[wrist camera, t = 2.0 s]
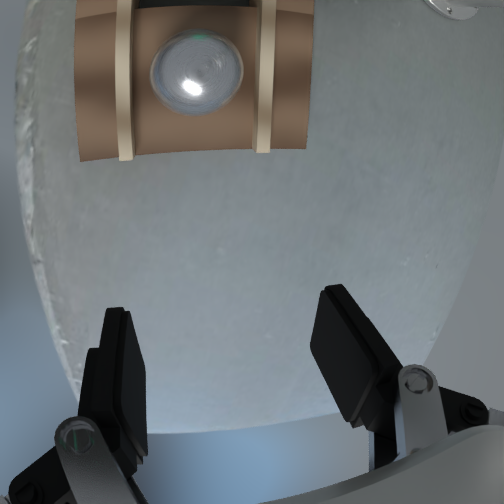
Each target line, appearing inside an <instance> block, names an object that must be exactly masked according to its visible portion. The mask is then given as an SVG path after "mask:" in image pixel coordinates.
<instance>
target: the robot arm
mask: <svg viewBox="0 0 504 504" xmlns="http://www.w3.org/2000/svg"><path fill="white" fill-rule="evenodd" d="M424 1H425V2H426V3H427V4H428V5H429V6H430V7H431V8H432V9H433V10H435V11H436V12H437V13H439V14H441V15H442V16H444V17H446V18H449V19H453V20H467V19H469V18H471V17H473V16H474V15H475V14H476V13H477V11H478V9H479V7H504V0H424ZM310 349H311V352H312V355H313V357H314V359H315V361H316V363H317V365H318V367H319V369H320V371H321V373H322V375H323V377H324V379H325V381H326V383H327V385H328V387H329V389H330V391H331V393H332V395H333V397H334V400H335V402H336V404H337V406H338V408H339V410H340V412H341V414H342V416H343V418H344V420H345V421H346V422H350V424H351V425H352V428H356V427H359V426H362V425H364V426H365V427H366V429H367V430H368V431H369V472H368V473H365V474H363V475H360V476H357V477H354V478H351V479H349V480H346V481H343V482H340V483H337V484H333V485H330V486H327V487H324V488H320V489H317V490H314V491H310V492H307V493H303V494H299V495H295V496H291V497H287V498H283V499H278V500H274V501H269V502H264V503H259V504H504V412H502V411H498V410H495V409H492V408H490V409H489V410H487V408H486V406H485V405H484V403H483V402H481V401H480V400H479V399H476V398H475V397H471V396H468V395H465V394H461V393H458V392H455V391H452V390H449V389H446V388H443V387H440V386H438V383H437V380H436V377H435V375H434V374H433V373H432V372H431V371H430V370H429V369H427V368H426V367H424V366H421V365H416V364H413V365H408V366H405V367H403V366H402V364H401V363H400V361H399V360H398V359H397V357H396V356H395V354H394V353H393V351H392V350H391V349H390V347H389V346H388V344H387V343H386V342H385V340H384V339H383V337H382V336H381V335H380V333H379V332H378V330H377V329H376V328H375V326H374V325H373V323H372V322H371V321H370V319H369V318H368V317H366V315H365V314H364V313H363V311H362V310H361V308H360V307H359V306H358V304H357V303H356V302H355V300H354V299H353V298H352V296H351V295H350V294H349V292H348V291H347V290H346V288H345V287H344V286H343V285H342V284H337V285H329V286H326V287H325V289H324V290H323V291H321V293H320V297H319V302H318V308H317V313H316V318H315V323H314V327H313V332H312V337H311V342H310ZM54 440H55V446H54V447H53V448H52V449H50V450H49V451H48V452H47V453H45V454H44V455H43V456H42V457H40V458H39V459H38V460H36V461H35V462H34V463H33V464H31V465H30V466H29V467H28V468H26V469H25V470H24V471H22V472H21V473H20V474H19V475H17V476H16V477H15V478H14V479H13V480H12V482H11V484H10V486H9V492H8V495H7V496H5V497H4V496H3V495H1V496H0V504H149V503H148V502H147V500H146V499H145V497H144V495H143V493H142V492H141V490H140V488H139V487H138V485H137V483H136V481H135V479H134V478H133V476H132V475H133V474H134V473H135V472H136V471H137V464H143V456H147V455H148V446H147V423H146V371H145V365H144V361H143V358H142V354H141V351H140V347H139V344H138V340H137V336H136V333H135V329H134V325H133V321H132V317H131V314H130V311H125V310H124V308H123V307H115V308H107V309H106V312H105V317H104V322H103V328H102V333H101V339H100V345H99V348H89V350H88V353H87V357H86V363H85V368H84V374H83V380H82V387H81V393H80V401H79V408H78V416H75V417H70V418H68V419H66V420H64V421H63V422H62V423H61V424H60V425H59V426H58V428H57V429H56V431H55V436H54Z"/></svg>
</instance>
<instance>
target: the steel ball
mask: <svg viewBox="0 0 504 504" xmlns="http://www.w3.org/2000/svg"><path fill="white" fill-rule="evenodd" d="M243 73H244V69H243V61H242V58H241V55H240V53H239V51H238V49H237V48H236V46H235V45H234V44H233V43H232V41H230V40H229V39H228V38H227V37H225V36H224V35H222V34H220V33H218V32H216V31H213V30H209V29H200V28H196V29H188V30H184V31H181V32H179V33H176V34H174V35H173V36H171V37H169V38H168V39H167V40H166V41H164V42H163V43H162V44H161V45H160V47H159V48H158V49H157V51H156V52H155V54H154V56H153V58H152V61H151V64H150V69H149V80H150V85H151V88H152V91H153V93H154V94H155V96H156V98H157V99H158V100H159V101H160V102H161V104H162V105H164V106H165V107H166V108H168V109H169V110H171V111H173V112H175V113H177V114H181V115H185V116H204V115H208V114H211V113H214V112H216V111H218V110H220V109H221V108H223V107H225V106H226V105H227V104H228V103H229V102H230V101H231V100H232V99H233V98H234V97H235V95H236V94H237V92H238V90H239V88H240V86H241V83H242V79H243Z"/></svg>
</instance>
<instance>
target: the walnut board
mask: <svg viewBox="0 0 504 504" xmlns="http://www.w3.org/2000/svg"><path fill="white" fill-rule="evenodd" d="M313 21H314V0H249V7H242V6H215V5H194V6H167V7H153V8H142V9H139V0H77V4H76V18H75V41H74V84H75V108H76V123H77V135H78V146H79V155H80V162H84V161H91V160H98V159H106V158H115V157H119V160H120V161H127V160H133V159H134V157H135V155H144V154H155V153H168V152H182V151H199V150H222V149H253V150H254V151H255V152H256V153H270V149H306V143H307V130H308V116H309V101H310V85H311V67H312V47H313ZM196 28H200V29H209V30H213V31H216V32H218V33H220V34H222V35H224V36H225V37H227V38H228V39H229V40H230V41H232V43H233V44H234V45H235V46H236V48H237V49H238V51H239V53H240V55H241V58H242V61H243V69H244V73H243V79H242V83H241V86H240V88H239V90H238V92H237V94H236V95H235V97H234V98H233V99H232V100H231V101H230V102H229V103H228V104H227V105H226V106H225V107H223V108H221V109H220V110H218V111H216V112H214V113H211V114H208V115H204V116H185V115H181V114H177V113H175V112H173V111H171V110H169V109H168V108H166V107H165V106H164V105H162V104H161V102H160V101H159V100H158V99H157V98H156V96H155V94H154V93H153V91H152V88H151V85H150V80H149V69H150V64H151V61H152V58H153V56H154V54H155V52H156V51H157V49H158V48H159V47H160V45H161V44H162V43H163V42H164V41H166V40H167V39H168V38H169V37H171V36H173V35H174V34H176V33H179V32H181V31H184V30H188V29H196Z"/></svg>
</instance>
